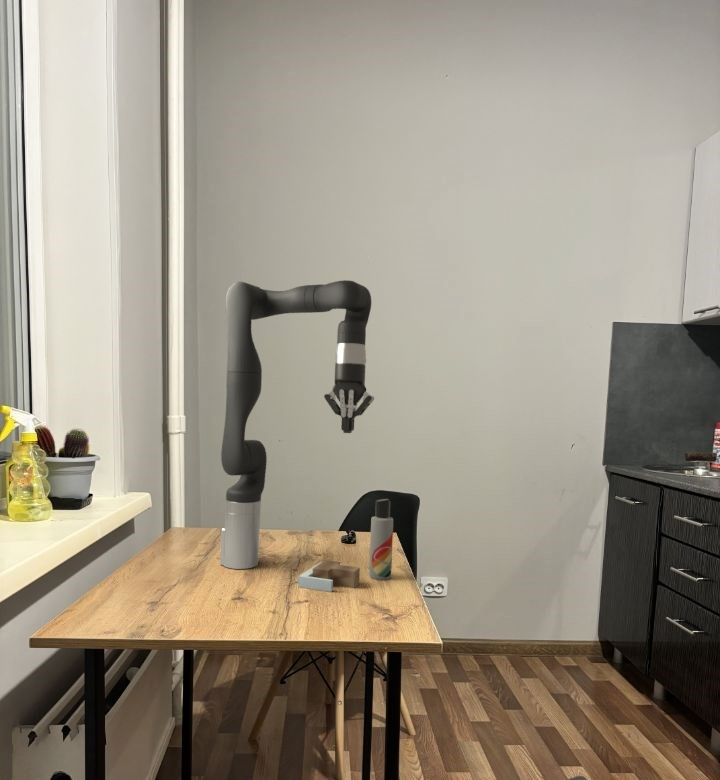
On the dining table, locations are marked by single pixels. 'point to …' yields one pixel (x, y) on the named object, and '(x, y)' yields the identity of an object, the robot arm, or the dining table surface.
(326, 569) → the t block
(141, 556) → the dining table surface
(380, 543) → the lotion bottle
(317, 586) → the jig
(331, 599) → the dining table surface
